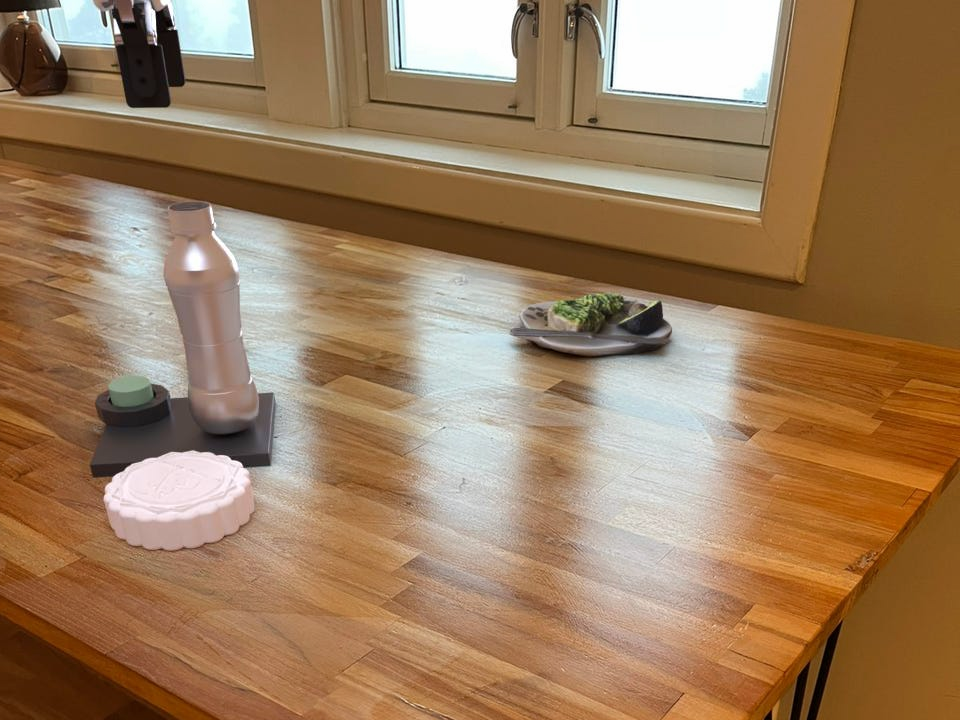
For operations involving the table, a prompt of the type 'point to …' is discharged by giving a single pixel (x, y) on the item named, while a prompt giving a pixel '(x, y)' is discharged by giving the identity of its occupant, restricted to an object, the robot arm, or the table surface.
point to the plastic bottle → (209, 321)
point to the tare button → (130, 391)
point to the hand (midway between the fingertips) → (158, 96)
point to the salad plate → (595, 325)
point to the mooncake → (179, 500)
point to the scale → (174, 433)
